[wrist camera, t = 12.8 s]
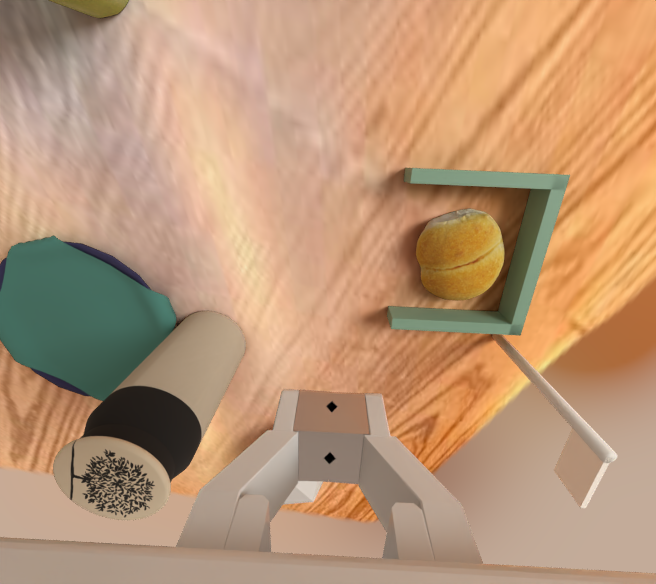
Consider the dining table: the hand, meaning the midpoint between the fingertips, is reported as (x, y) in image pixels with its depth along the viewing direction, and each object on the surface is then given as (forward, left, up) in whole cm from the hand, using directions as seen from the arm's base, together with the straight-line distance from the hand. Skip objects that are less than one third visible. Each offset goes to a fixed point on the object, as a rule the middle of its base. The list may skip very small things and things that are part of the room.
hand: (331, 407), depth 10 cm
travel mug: (+13, -14, -24) cm, 31 cm away
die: (+28, -4, -24) cm, 37 cm away
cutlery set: (+9, -32, -25) cm, 42 cm away
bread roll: (+1, +12, -25) cm, 27 cm away
